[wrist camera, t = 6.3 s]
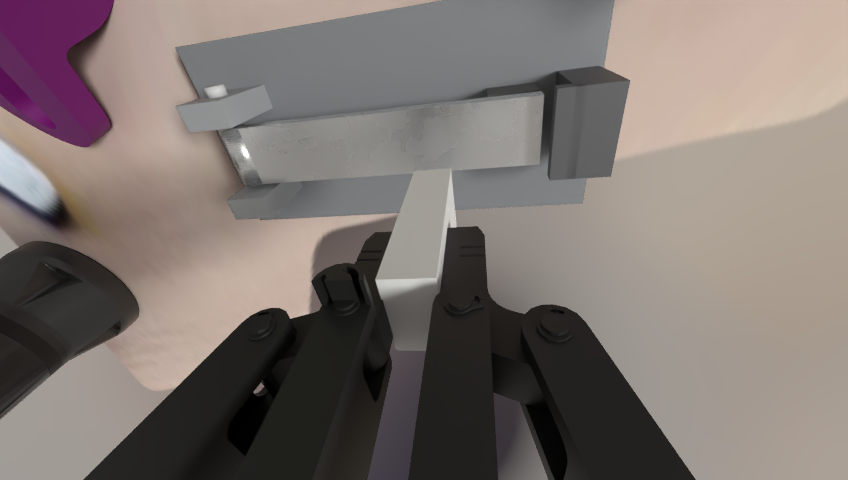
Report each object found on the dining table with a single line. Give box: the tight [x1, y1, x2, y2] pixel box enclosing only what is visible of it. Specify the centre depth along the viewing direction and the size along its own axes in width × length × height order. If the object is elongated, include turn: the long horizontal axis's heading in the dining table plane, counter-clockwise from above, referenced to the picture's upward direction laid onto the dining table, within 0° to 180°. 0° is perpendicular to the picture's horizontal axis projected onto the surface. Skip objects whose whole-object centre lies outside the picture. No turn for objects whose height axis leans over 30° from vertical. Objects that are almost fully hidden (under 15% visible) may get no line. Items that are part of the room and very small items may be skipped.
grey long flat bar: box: [219, 91, 544, 187], centre depth 21 cm, size 21×4×2 cm, turn 98°
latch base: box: [175, 0, 630, 220], centre depth 22 cm, size 28×14×7 cm, turn 98°
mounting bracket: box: [0, 0, 114, 147], centre depth 23 cm, size 9×8×18 cm
